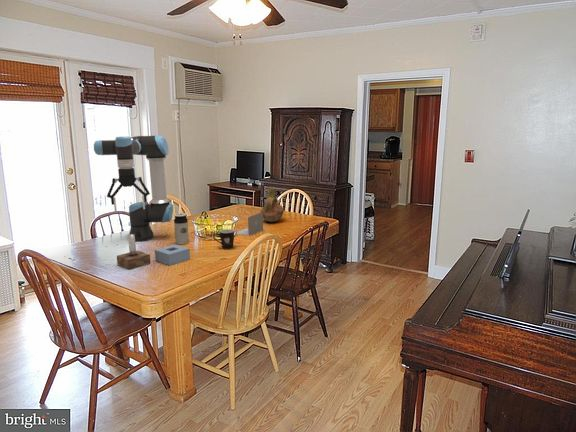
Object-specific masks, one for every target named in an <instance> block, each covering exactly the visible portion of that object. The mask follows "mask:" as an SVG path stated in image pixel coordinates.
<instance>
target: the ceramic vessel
mask: <svg viewBox="0 0 576 432" xmlns="http://www.w3.org/2000/svg"><path fill="white" fill-rule="evenodd" d="M266 191H267V192H266V195H267V198H266V199H265V202H264V206H263V207H262V208H261V209H260V211H259V213H261V212H263V221H265V222H268V223H276V222H278V221H280V219H282V217H283V215H284V214H283V213H284V212H285V211H284V206H282V204H279V203H278V201H279V199H278V197H277V188H275V187H273V188H267V190H266Z"/></svg>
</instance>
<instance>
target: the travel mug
mask: <svg viewBox="0 0 576 432" xmlns="http://www.w3.org/2000/svg"><path fill="white" fill-rule="evenodd" d="M187 214H188V213H184V212H183V213H182V212H181V213H179V212H178V213H175V214H173V216H174V220H173V224H174V236H175V237H174V239H175V244H176V245H179V246H183V245H187V244H189V243H190V238H189V237H190V235H189V221H188V217H187Z"/></svg>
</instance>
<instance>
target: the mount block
mask: <svg viewBox="0 0 576 432" xmlns="http://www.w3.org/2000/svg"><path fill="white" fill-rule="evenodd" d="M136 255H137V256H133V257H130V251H129V252H126V253H125V252H124V253H122V254H117V255H116V265H117V266H119V267H121V268H124V269H127V270H130V271H131V270H134V269H137V268H140V267H144V266H147V265H150V264H151V255H150V253H146V252H144V251H141V250H137V249H136Z"/></svg>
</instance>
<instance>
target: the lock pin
mask: <svg viewBox="0 0 576 432" xmlns="http://www.w3.org/2000/svg"><path fill="white" fill-rule="evenodd" d="M127 239H128V240H127V241H128V249H129V250H128V251H129V252H130V257H133V256H137V255H136V251H137V247H136V241H135V235H134V234H128V235H127Z"/></svg>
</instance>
